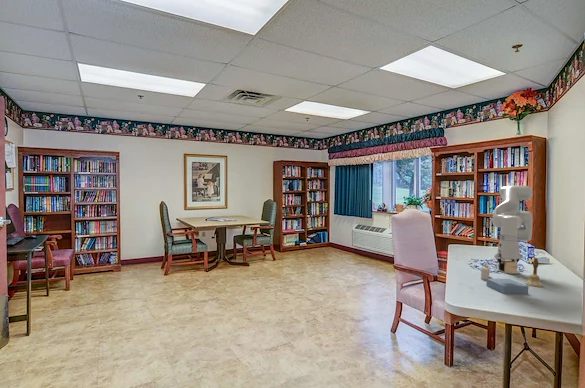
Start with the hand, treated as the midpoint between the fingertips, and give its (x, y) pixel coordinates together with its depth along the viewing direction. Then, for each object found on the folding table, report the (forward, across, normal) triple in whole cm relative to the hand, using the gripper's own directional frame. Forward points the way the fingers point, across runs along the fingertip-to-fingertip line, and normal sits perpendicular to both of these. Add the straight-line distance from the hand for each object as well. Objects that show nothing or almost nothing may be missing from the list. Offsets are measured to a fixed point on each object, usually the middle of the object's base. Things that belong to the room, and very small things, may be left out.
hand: (507, 270), depth 182 cm
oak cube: (+1, 0, 0) cm, 1 cm away
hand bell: (+11, +24, +9) cm, 28 cm away
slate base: (+11, 0, 0) cm, 11 cm away
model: (+12, +3, +23) cm, 26 cm away
